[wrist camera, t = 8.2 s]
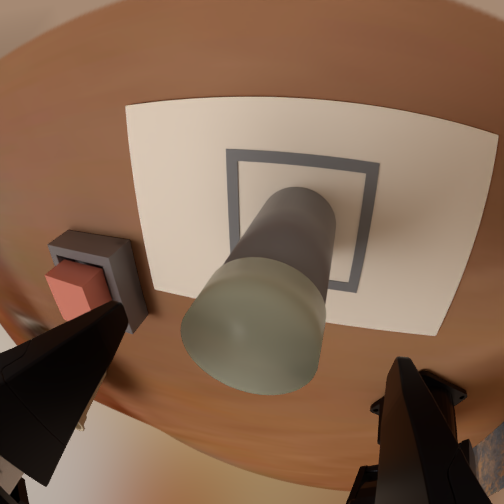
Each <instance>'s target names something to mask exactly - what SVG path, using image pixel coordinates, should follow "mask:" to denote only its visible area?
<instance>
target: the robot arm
mask: <svg viewBox="0 0 504 504" xmlns="http://www.w3.org/2000/svg"><path fill="white" fill-rule="evenodd" d="M128 323H129V320H128V317H127V314H126V311H125V308H124V305H123V304H122V303H121V302H118V301H114V300H112V301H109V302H107V303H105V304H103V305H101V306H99V307H97V308H95V309H92V310H90V311H88V312H86V313H84V314H82V315H80V316H78V317H76V318H74V319H72V320H70V321H68V322H65V323H63V324H61V325H59V326H57V327H55V328H53V329H51V330H49V331H47V332H45V333H43V334H41V335H39V336H37V337H35V338H33V339H32V340H29V341H27V342H25V343H22V344H20V345H18V346H16V347H14V348H12V349H9V350H7V351H5V352H2V353H0V504H29V501H28V496H27V490H26V485H25V480H24V479H23V478H22V475H23V474H24V473H25V474H26V475H28V476H29V477H31V478H33V479H34V480H35V481H37V482H39V483H40V484H42V485H43V486H45V487H46V486H47V485H48V484H49V481H50V479H51V477H52V475H53V473H54V471H55V468H56V466H57V464H58V462H59V460H60V458H61V456H62V454H63V452H64V449H65V448H66V445H67V443H68V442H69V440H70V438H71V436H72V434H73V432H74V430H75V428H76V426H77V424H78V422H79V420H80V418H81V416H82V414H83V412H84V411H85V409H86V407H87V405H88V403H89V401H90V399H91V398H92V396H93V394H94V392H95V390H96V388H97V387H98V385H99V383H100V381H101V379H102V378H103V376H104V374H105V372H106V371H107V369H108V367H109V365H110V363H111V362H112V360H113V358H114V355H115V353H116V351H117V349H118V347H119V344H120V342H121V340H122V338H123V336H124V333H125V331H126V329H127V327H128ZM466 397H467V392H466V391H465V390H463V389H461V388H459V387H457V386H455V385H453V384H451V383H449V382H447V381H445V380H443V379H441V378H439V377H437V376H435V375H433V374H431V373H429V372H427V371H421V372H418V370H417V369H416V367H415V365H414V364H413V362H412V360H411V359H410V358H408V357H397V358H396V359H395V361H394V363H393V365H392V367H391V369H390V371H389V373H388V376H387V381H386V390H385V397H383V398H382V399H380V400H379V401H377V402H376V403H374V404H372V405H371V407H370V411H371V412H372V413H374V414H377V415H379V426H378V440H377V441H378V444H379V445H380V454H379V464H378V465H373V466H361V467H360V469H359V471H358V474H357V476H356V479H355V482H354V484H353V487H352V490H351V492H350V495H349V497H348V500H347V502H346V504H492V503H491V501H490V499H489V498H488V496H487V494H486V493H485V491H484V489H483V488H482V486H481V485H480V483H479V481H478V480H477V476H476V462H475V455H474V452H473V449H472V446H471V443H470V440H469V439H467V440H464V441H462V443H459V444H458V440H457V428H456V417H455V409H454V406H455V405H457V404H458V403H460V402H461V401H463V400H464V399H465V398H466Z"/></svg>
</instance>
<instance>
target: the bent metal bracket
mask: <svg viewBox="0 0 504 504" xmlns="http://www.w3.org/2000/svg"><path fill="white" fill-rule="evenodd" d="M473 452H474V455H475V462H476V476H477V480H478V481H479V483H480V485H481V486H482V488H483V489H484V491H485V493H486V494H487V496H488V497H489V496H490V495H492V494H494V493H496V492H497V491H499V490H501V489H503V488H504V422H503V423H502V424H501V425H500V426H499V427H497V428H496V429H495V430H494V431H493V432H492V433H491V434H490V435H488V436H487V437H486V438H485V439H484V440H483V441H481V442H480V443H479V444H478V445H477V446H475V447H474V448H473Z"/></svg>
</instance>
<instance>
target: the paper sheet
mask: <svg viewBox="0 0 504 504" xmlns="http://www.w3.org/2000/svg"><path fill="white" fill-rule="evenodd" d="M125 107H126V119H127V129H128V139H129V148H130V156H131V164H132V172H133V179H134V186H135V192H136V198H137V205H138V211H139V216H140V222H141V228H142V233H143V238H144V243H145V248H146V253H147V258H148V263H149V267H150V272H151V276H152V281H153V285H154V289H156V290H160V291H164V292H169V293H173V294H178V295H182V296H187V297H191V298H197V297H198V295H199V294H200V292H201V291H202V289H203V288H204V286H205V285H206V283H207V282H208V281H209V279H210V278H211V276H212V275H213V274H214V272H215V271H216V270H217V269H218V268H220V267H221V266H222V265H223V264H224V262H225V261H226V259H227V258H228V257H229V255H230V254H231V252H232V251H233V249H234V248H235V246H236V245H237V243H238V242H239V240H240V239H241V237H242V236H243V235H244V233H245V232H246V230H247V229H248V227H249V226H250V224H251V223H252V221H253V220H254V218H255V217H256V216H257V214H258V213H259V211H260V210H261V208H262V207H263V205H264V204H265V203H266V201H267V200H268V199H269V197H270V196H272V195H273V194H274V193H276V192H277V191H279V190H281V189H284V188H288V187H303V188H307V189H310V190H313V191H315V192H317V193H318V194H320V195H321V196H322V197H323V198H325V199H326V201H327V202H328V203H329V204H330V206H331V208H332V210H333V212H334V215H335V219H336V230H335V239H334V247H333V255H332V263H331V270H330V277H329V284H328V291H327V297H326V304H325V307H326V322H328V323H334V324H341V325H348V326H355V327H363V328H370V329H378V330H386V331H394V332H403V333H412V334H421V335H431V336H436V334H437V332H438V330H439V328H440V326H441V324H442V322H443V320H444V317H445V315H446V313H447V311H448V309H449V306H450V304H451V302H452V300H453V297H454V295H455V292H456V290H457V288H458V285H459V283H460V280H461V277H462V275H463V272H464V270H465V267H466V264H467V261H468V259H469V256H470V253H471V250H472V247H473V244H474V241H475V238H476V235H477V231H478V228H479V225H480V221H481V218H482V214H483V210H484V207H485V203H486V199H487V195H488V190H489V186H490V182H491V177H492V172H493V167H494V162H495V156H496V150H497V144H498V137H499V135H496V134H493V133H490V132H487V131H484V130H481V129H477V128H474V127H471V126H467V125H463V124H460V123H456V122H452V121H448V120H444V119H440V118H436V117H432V116H427V115H423V114H418V113H413V112H408V111H403V110H397V109H391V108H385V107H379V106H373V105H365V104H358V103H350V102H341V101H331V100H320V99H306V98H288V97H211V98H193V99H179V100H168V101H158V102H149V103H141V104H134V105H127V106H125Z"/></svg>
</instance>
